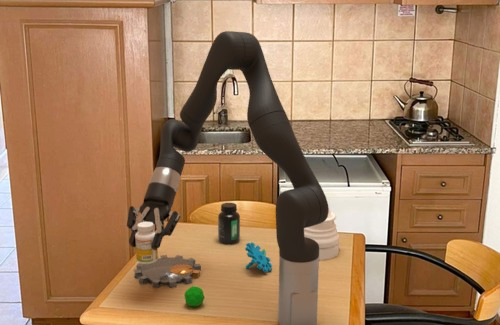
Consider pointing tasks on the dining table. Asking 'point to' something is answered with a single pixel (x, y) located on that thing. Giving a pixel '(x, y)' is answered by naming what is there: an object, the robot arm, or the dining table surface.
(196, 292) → the polyhedron
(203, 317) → the dining table surface
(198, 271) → the sprocket plate
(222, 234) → the supplement bottle
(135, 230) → the robot arm
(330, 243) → the honey pot
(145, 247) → the supplement bottle
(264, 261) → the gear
